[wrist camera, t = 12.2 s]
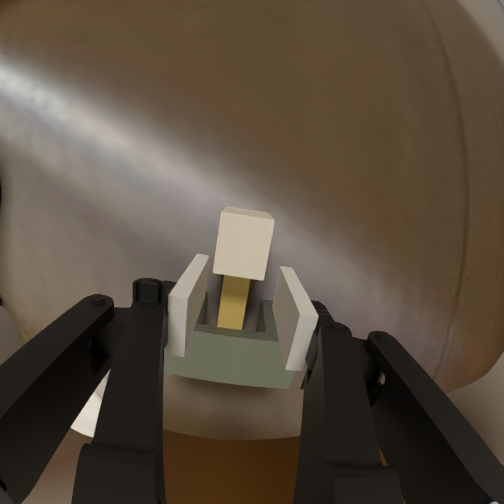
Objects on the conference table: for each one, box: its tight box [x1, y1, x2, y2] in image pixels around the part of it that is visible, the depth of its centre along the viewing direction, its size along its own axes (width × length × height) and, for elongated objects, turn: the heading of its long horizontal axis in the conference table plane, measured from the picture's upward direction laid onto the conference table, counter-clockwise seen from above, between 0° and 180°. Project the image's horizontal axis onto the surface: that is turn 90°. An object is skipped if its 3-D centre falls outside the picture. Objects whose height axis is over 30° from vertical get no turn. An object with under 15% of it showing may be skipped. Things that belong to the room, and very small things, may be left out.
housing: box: [164, 292, 295, 389], centre depth 30 cm, size 20×6×10 cm, turn 81°
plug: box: [213, 207, 275, 330], centre depth 31 cm, size 5×20×7 cm, turn 171°
